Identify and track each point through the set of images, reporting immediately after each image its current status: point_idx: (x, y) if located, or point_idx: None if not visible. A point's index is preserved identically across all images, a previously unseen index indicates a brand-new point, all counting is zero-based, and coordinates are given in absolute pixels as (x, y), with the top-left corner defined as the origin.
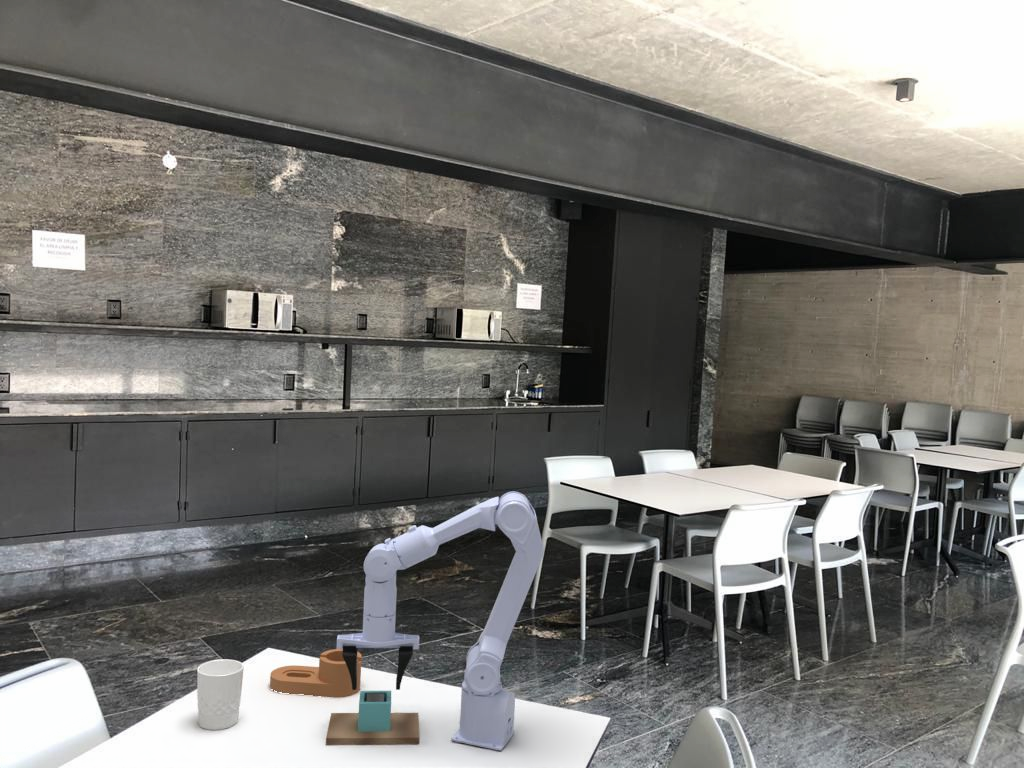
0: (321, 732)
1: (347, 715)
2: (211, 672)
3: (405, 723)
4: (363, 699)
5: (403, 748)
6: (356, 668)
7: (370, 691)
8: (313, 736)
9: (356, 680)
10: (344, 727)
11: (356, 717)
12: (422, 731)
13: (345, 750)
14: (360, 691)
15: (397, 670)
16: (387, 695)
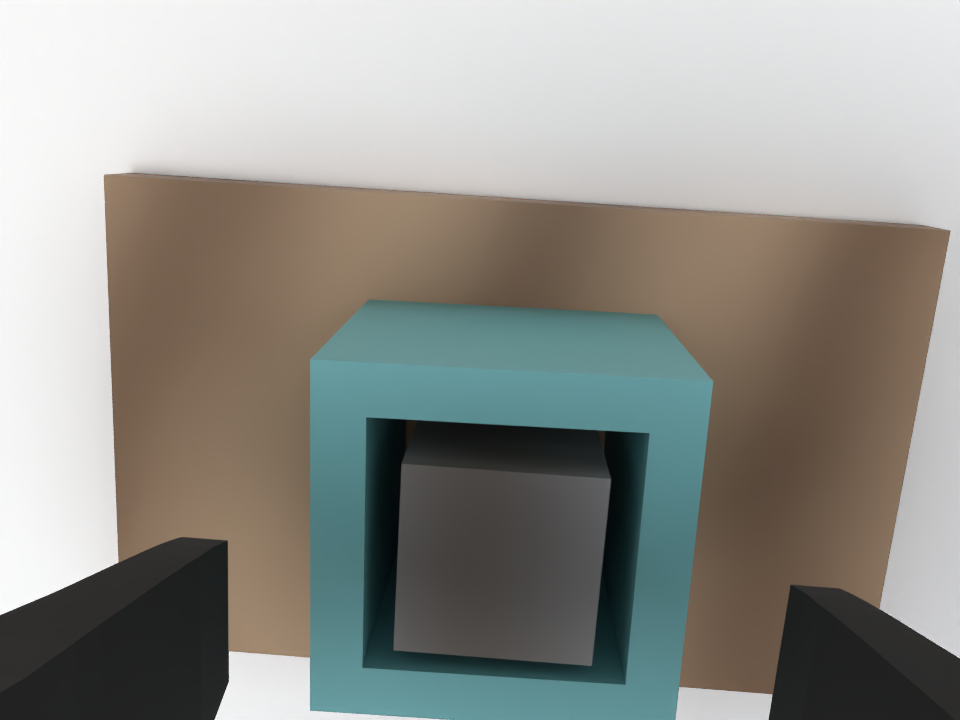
0: (85, 409)
1: (260, 244)
2: None
3: (786, 446)
4: (356, 612)
5: (714, 711)
6: (96, 701)
7: (440, 393)
8: (34, 470)
9: (183, 711)
10: (251, 477)
11: (345, 292)
12: (912, 462)
13: (294, 698)
14: (313, 382)
15: (892, 690)
16: (649, 523)
